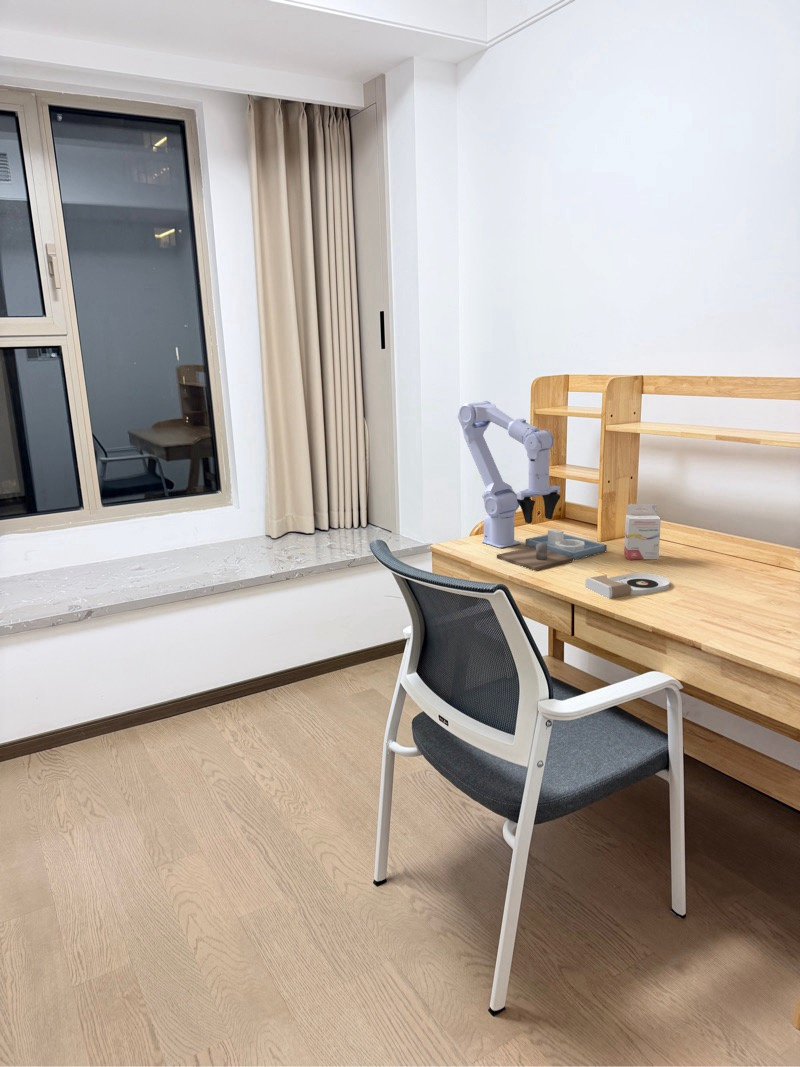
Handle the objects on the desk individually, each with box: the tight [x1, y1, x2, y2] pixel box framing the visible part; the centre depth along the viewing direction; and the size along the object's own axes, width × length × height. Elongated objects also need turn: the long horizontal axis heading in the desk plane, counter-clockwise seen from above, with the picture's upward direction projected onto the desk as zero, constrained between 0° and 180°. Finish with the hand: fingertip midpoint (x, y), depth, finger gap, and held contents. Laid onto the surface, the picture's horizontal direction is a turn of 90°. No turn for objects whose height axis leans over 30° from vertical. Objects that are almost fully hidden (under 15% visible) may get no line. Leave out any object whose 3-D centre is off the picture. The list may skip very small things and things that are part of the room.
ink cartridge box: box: [623, 503, 662, 560], centre depth 206 cm, size 9×5×15 cm, turn 84°
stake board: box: [496, 543, 574, 571], centre depth 209 cm, size 16×14×5 cm
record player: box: [584, 572, 671, 599], centre depth 183 cm, size 12×3×20 cm
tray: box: [525, 533, 608, 561], centre depth 219 cm, size 20×13×2 cm, turn 31°
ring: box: [547, 528, 584, 552], centre depth 219 cm, size 12×8×4 cm
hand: (538, 520), depth 214 cm, fingers open, 7 cm apart
